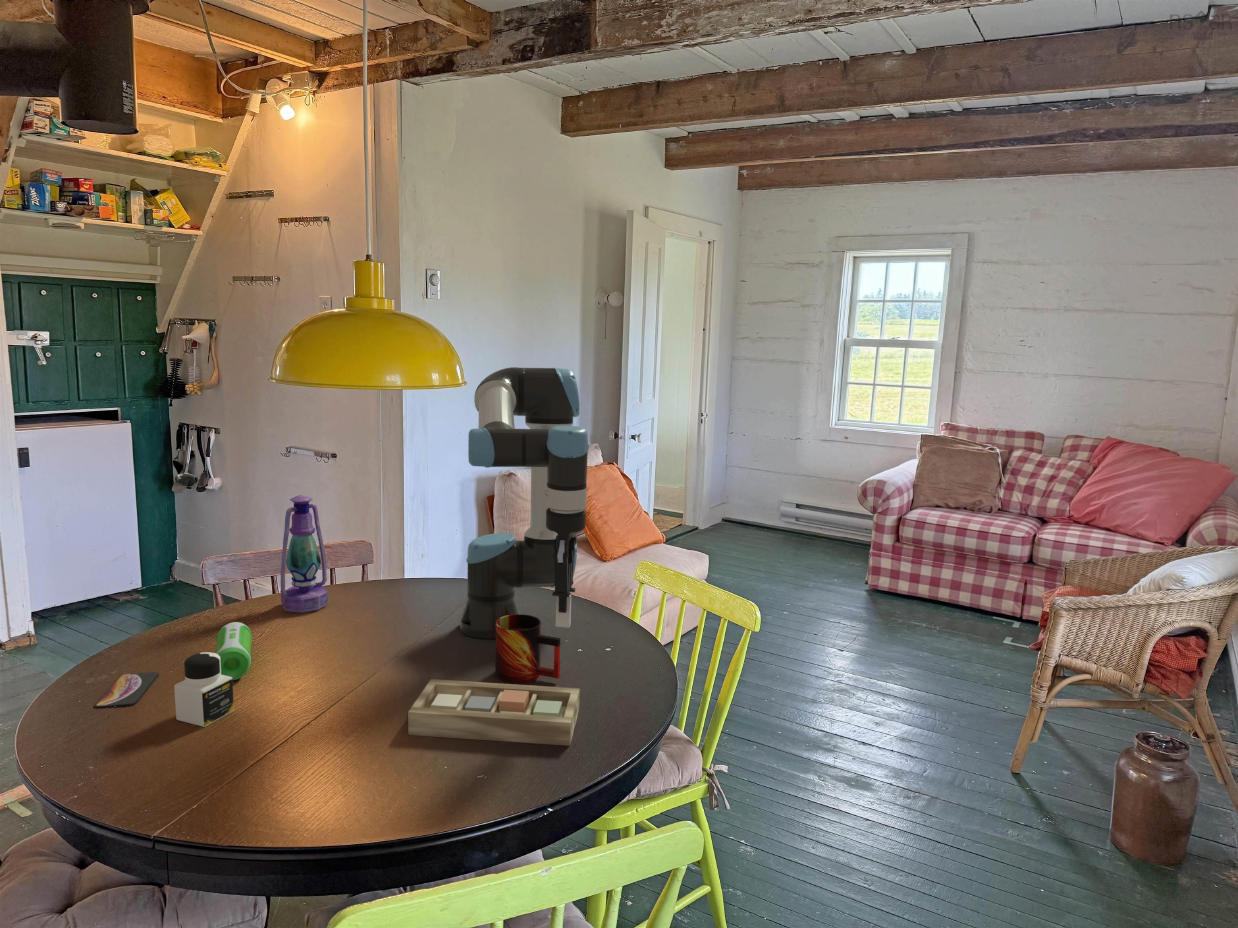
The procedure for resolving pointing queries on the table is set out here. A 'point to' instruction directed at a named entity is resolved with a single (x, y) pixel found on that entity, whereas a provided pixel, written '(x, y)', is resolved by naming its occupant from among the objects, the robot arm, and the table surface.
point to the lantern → (303, 559)
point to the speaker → (234, 649)
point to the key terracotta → (514, 701)
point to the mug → (522, 650)
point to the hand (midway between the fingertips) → (563, 625)
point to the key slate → (480, 704)
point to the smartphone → (127, 690)
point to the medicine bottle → (203, 691)
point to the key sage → (548, 708)
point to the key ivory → (447, 701)
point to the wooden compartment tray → (494, 714)
